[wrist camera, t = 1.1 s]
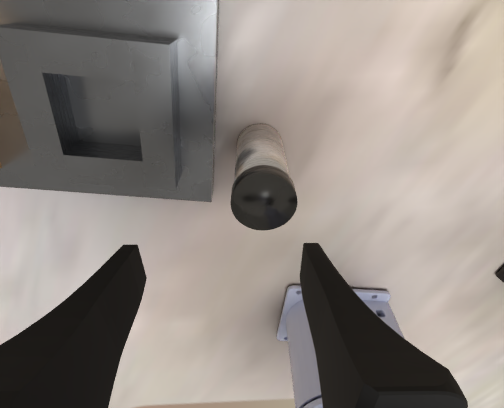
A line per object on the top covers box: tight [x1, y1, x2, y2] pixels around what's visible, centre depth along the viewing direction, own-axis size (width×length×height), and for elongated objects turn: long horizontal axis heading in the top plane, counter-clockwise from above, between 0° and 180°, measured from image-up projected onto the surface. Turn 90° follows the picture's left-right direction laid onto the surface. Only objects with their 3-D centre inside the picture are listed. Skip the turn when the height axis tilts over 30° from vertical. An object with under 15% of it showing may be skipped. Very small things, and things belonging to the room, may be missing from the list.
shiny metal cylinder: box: [231, 124, 297, 230], centre depth 18 cm, size 3×3×7 cm
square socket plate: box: [0, 0, 219, 202], centre depth 17 cm, size 20×12×6 cm, turn 84°
